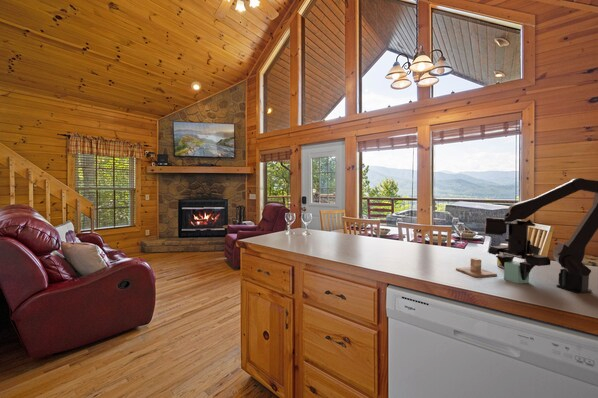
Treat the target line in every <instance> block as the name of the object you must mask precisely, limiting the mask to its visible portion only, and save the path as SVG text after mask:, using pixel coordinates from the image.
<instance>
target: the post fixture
mask: <svg viewBox="0 0 598 398" xmlns="http://www.w3.org/2000/svg"><path fill="white" fill-rule="evenodd" d="M455 271H456V272H461V273H462V274H466V275H468V276H471V277H473V278H487V277H497V275H498V274H497V273H495V272H492V271H489V270H488V269H487V270H486V269H483V268H482V259H481V258H477V257H473V258H471V257H470V266H467V267H456V268H455Z"/></svg>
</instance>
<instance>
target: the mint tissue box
mask: <svg viewBox="0 0 598 398" xmlns="http://www.w3.org/2000/svg"><path fill="white" fill-rule="evenodd" d="M520 262H521V261H520ZM520 262H519V261H515V260H513V261H512V262H504V268H503V279H504V280H507V281H508V282H512V283H515V284H518V285H519V284H529V283H530V274H529V275H528V276H527V278H526V280H522V277H521V269H520Z"/></svg>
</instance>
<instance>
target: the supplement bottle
mask: <svg viewBox="0 0 598 398" xmlns="http://www.w3.org/2000/svg"><path fill="white" fill-rule="evenodd" d="M499 246H501V247H506V248H508V243H500V244H499ZM496 258H497V257H496ZM512 261H514V259H513V260H512ZM496 263H497V264H496V266H497V267H500V268H503V269H504V267H503V266H502V264H501V262H500V261H499V259H498V258H497V260H496Z"/></svg>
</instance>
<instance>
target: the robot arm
mask: <svg viewBox="0 0 598 398" xmlns="http://www.w3.org/2000/svg"><path fill="white" fill-rule="evenodd" d="M579 191H584V192H589V193H594V195H593V201H592V205H591V207H590V208H589V209H588V211H587V212H586V214H585V216H584V217H583V219H581V222H580V223H579V224H578V225H577V228H576V229H575V230H574V232H573V234H571V236H570V238H569V239H568V240H567V241H565V242H564V243H563V242H562V241H558V242H557V244H556V246H555V248H553V250H552V252H553V255H552V256H553V260H554V261H555V262H557V263H558V265H560V271H559V272H558V282H557V283H558V284H556V285H555V286H556V287H557V288H561V289H563V290H567V291H570V292H573V293H577V294H581V293H591V292H592V291H593V290H592V289H590V288H589V285H590V283H589V282H590V275H591V273H592V270H591V269H590V268H589V267H588V266H587V265H585V264H584V262H583V261H584V258H585V254H586V248H587V246H588V244H589V243H590V241H591V239H592V238H593V237H594V235H595V234H596V232H597V231H598V180H596V179H595V180H593V179H585V178H582V177H579V178H572V179H570V180H569V181H568V182H565V183H563V184H561V185H559V186H556V187H554V188H552V189H551V190H548V191H546V192H544V193H542V194H540V195H538V196H536V197H534V198H533V197H532V198H530V199H526V200H522V201H519V202H516V203H513V204H511V205H510V206H509V207H508V209H507V213H505V214H504V215H503V216H502V217H501V218H500V217H499V218H498V217H485V224H484V235H487V236H488V235H489V236H490V235H492V236H502V237H503V235H505V234H507V238H505V239H504V242H506V243H507V244H508V248H506V247H501V246H500V245H494V246H490V247H489V248H488V254H491V255H494V256H495V257H496V258H498V259H499V261H500V262H501V264H502V266H503V267H504V262H512V260H513V261H514V258H518V259H521V260H524V261H522V262H521V261H520V269H521V277H522V280H526V278H527V276H528V275H529V276H530V273H531V271H532V269H534V267H536V266H538V267H541V266H542V267H543V266H551V259H550V257H549V256H546V255H542V254H541V255H540V250H541V247H538V246H536V245H534V244H532V241H531V240H530V239H528V235H529V227H536V223H534V222H533V221H532V220H531V219H530V218H529V217H530V216H532V215H534V214H536V212H538V211H539V210H540V209H542V208H543V207H545V206H548V205H550V204H552V203H554V202H557V201H558V200H561V199H563V198H565V197H567V196H570V195H572V194H574V193H577V192H579ZM525 219H526V220H525ZM514 221H515V222H514ZM507 229H508V230H507Z"/></svg>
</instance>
